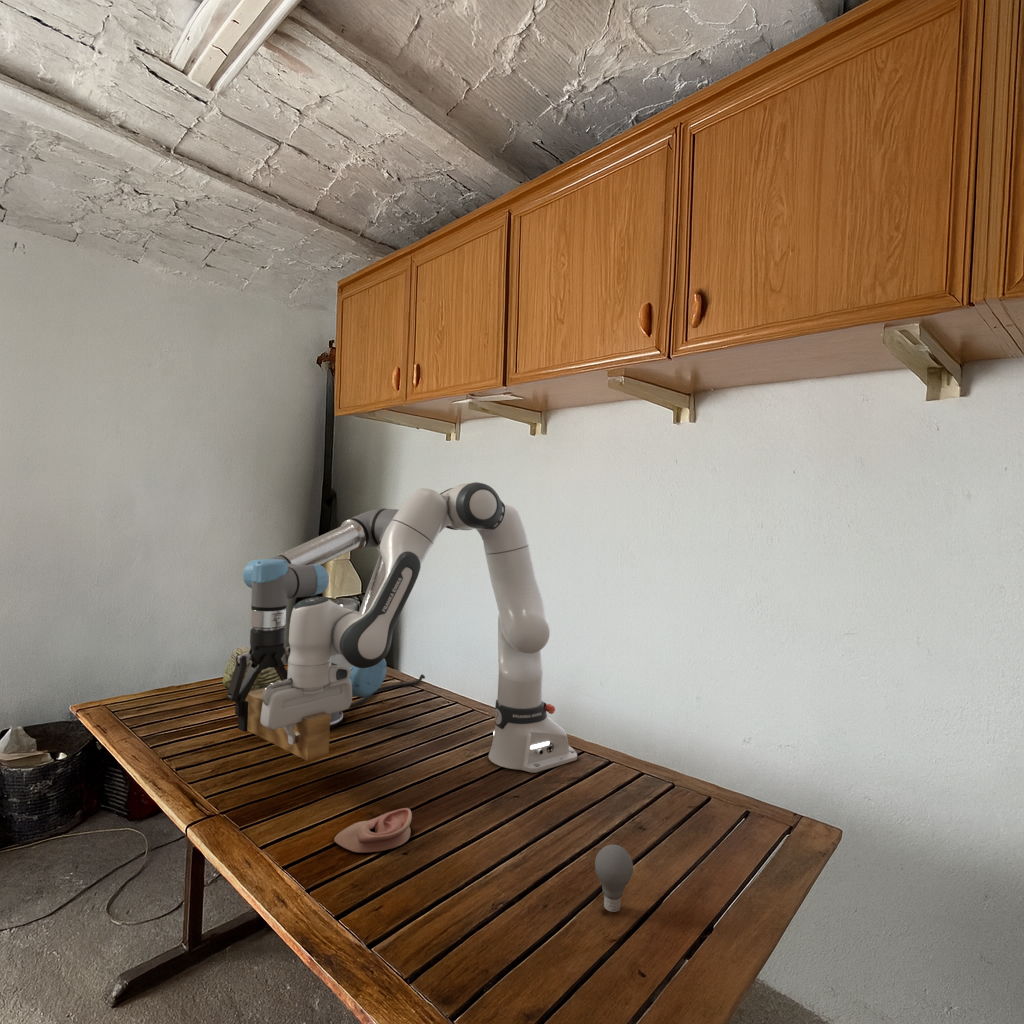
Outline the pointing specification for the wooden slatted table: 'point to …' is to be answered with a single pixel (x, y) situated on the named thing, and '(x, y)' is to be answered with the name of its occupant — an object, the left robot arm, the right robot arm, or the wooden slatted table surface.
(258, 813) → the wooden slatted table surface
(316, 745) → the bar
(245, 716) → the left robot arm
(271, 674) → the fossil
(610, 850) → the light bulb
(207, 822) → the wooden slatted table surface
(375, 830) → the anatomical model
